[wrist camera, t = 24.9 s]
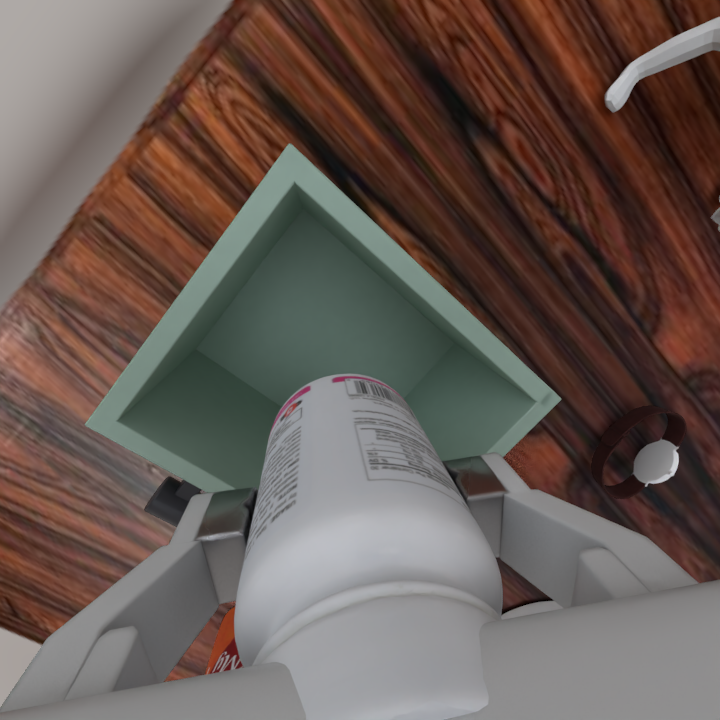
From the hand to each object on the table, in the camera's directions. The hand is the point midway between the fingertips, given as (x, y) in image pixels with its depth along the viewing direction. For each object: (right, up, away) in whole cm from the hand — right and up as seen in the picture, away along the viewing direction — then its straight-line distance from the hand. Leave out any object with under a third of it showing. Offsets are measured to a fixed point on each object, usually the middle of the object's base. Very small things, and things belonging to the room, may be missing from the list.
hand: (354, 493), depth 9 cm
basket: (+3, +8, +8) cm, 11 cm away
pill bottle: (0, +1, +3) cm, 3 cm away
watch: (+21, -3, +20) cm, 29 cm away
